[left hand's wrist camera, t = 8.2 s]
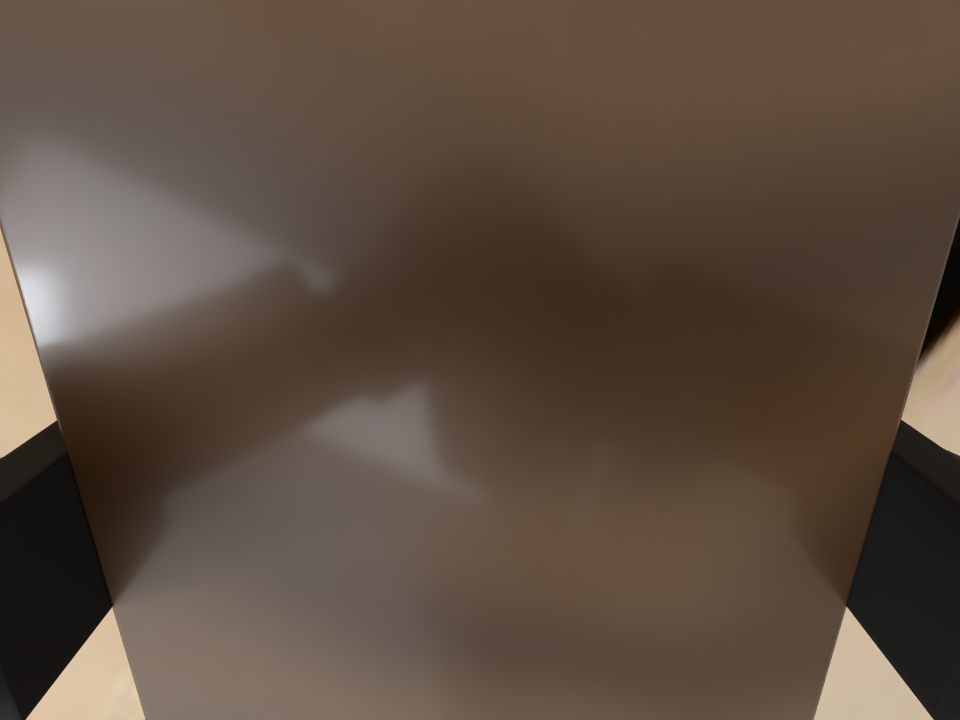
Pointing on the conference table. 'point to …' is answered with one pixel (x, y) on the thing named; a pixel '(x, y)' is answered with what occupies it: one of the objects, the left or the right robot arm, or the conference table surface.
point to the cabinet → (479, 337)
